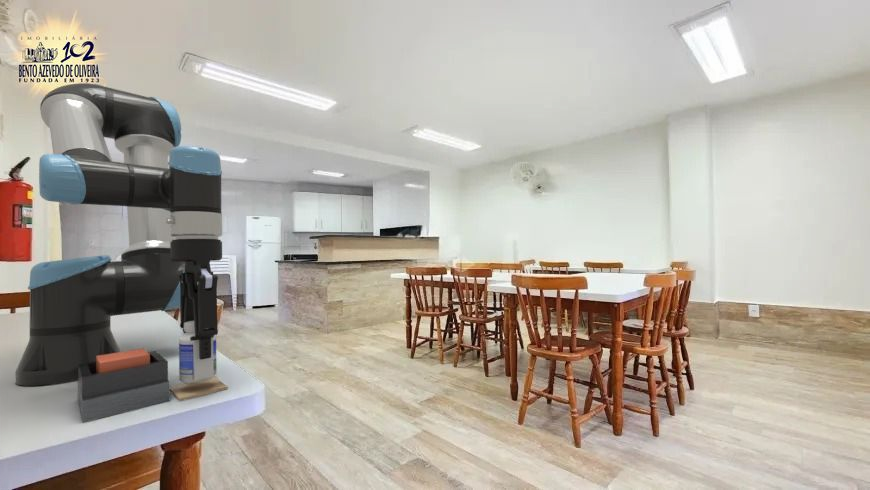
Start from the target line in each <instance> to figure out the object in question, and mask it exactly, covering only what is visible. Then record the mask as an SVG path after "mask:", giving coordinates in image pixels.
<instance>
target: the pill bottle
mask: <svg viewBox="0 0 870 490" xmlns="http://www.w3.org/2000/svg"><path fill="white" fill-rule="evenodd" d="M207 329H208V328H207ZM184 331H185V332H186V333H184V334H185V335H184V334H183V335H182V336H180V338H179V339H178V360H179V361H178V362H179V363H178V364H179V367H178V373H179V375H178V376H179V379H178V380H179V381H180V383H183V384H189V383H197V382H202V381H206V380H209V379H211V378H216V375H217V373H218V372H217V366H218V365H217V335H214V337H213V367H214V376H212V377H207V378H203V379H199V380H194V365H193V341H191V340H190V337H193V336H195V326H194V321H189V322H185V323H184Z"/></svg>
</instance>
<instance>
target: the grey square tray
mask: <svg viewBox="0 0 870 490" xmlns="http://www.w3.org/2000/svg"><path fill="white" fill-rule="evenodd" d="M147 352H148V351H147ZM148 353H149V354H150V364H145V365H139V366H134V367H129V368H123V369H118V370H113V371H107V372H102V373H97V374H96V361H94V362H88V363H82V364H78V381H77V392H78V393H77V401H78V407H79V412H80V416H81V421H82V423H87V422H91V421H95V420H99V419H103V418H107V417H111V416H114V415H115V416H116V415H118V414H123V413H127V412H131V411H134V410H138V409H143V408H146V407H150V406H154V405H157V404H163V403H166V402H170V401H171V400H170V399H171V398H170V397H171V396H170V395H171V394H170V393H171V392H170V388H171V387H170V381H169V360H167V359H165V358H164V357H163V356H162V355H161V354H160V353H159V352H158V351H156V350H153V351H149V352H148Z"/></svg>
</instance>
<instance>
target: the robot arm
mask: <svg viewBox="0 0 870 490" xmlns="http://www.w3.org/2000/svg"><path fill="white" fill-rule="evenodd" d="M39 107H40V108H39V110H40V116H41V119H42V121H43V122H44V124H45V125H46V126H47V127H48V128H49V131H50V139H51V147H52V153H46V154H42V155H41V156H40V157H39V163H38V169H39V170H38V183H39V184H38V185H39V187H38V188H39V196H40V197H41V198H42V199H43V200H45V201H48V202H55V203H64V204H70V205H92V206H93V205H94V206H112V207H126V211H127V212H126V213H127V216H126V217H127V226H128V227H127V228H128V242H129V243H128V248H126V249H125V250H124V251H122V252H121V254H120V257H121V258H120V259H121V260H119V261H118V260H117V261H116V260H115V261H112V258H111V257H110V255H109V254H104V255H103V254H101V255H95V256H84V257H75V258H68V259H67V258H66V259H61V260H60V259H58V260H50V261H43V262H39V263H37V264H35V265H34V266H32V267H31V269H30V273H29V284H28V286H27V290H29V339H28V342H27V345H26V347H25V349H24V352H23V354H22V357H21V359H20V361H19V363H18V366H17V368H16V370H15V384H16V385H19V386H26V387H27V386H28V387H29V386H32V387H33V386H46V385H47V386H48V385H54V384H60V383H62V384H63V383H67V382H73V381H77V380H78V364H82V363H88V362H94V361H96V356H99V355H105V354H111V353H118V352H121V350H120V348H119V345H118V344H117V341H116V339H115V337H114V335H113V334H114V333H112V330H111V317H113V316H124V315H132V314H139V313H140V314H141V313H149V312H151V313H152V312H159V311H161V312H165V311H167V310H174V309H180V313H179V314H180V316H179V317H180V320H179V321H180V323H179V327H180V329H182V333H183V335H185V334H186V332H185V331H184V323H185V322H189V321H194V326H195V336H193V337H190V340H191V341H193V365H194V380H199V379H203V378H207V377H212V376H214V367H213V337H214V335H216V336H217V335H218V332H219V330H218V329H219V327H218V296H217V293H218V292H217V289H218V288H217V287H218V280H219V277H218V274H214V272H213V271H212V269H211V264H210V263H211V262H214V261H215V262H217V261H221V260H222V259H223V241H222V240H221V239H219V238H220V237H222V236H223V214H222V175H223V171H222V164H221V157H220V155H219V153H218V152H216V151H215V150H212V149H209V148H206V147H200V146H194V145H180V144H181V140H182V133H181V131H182V124H181V118H180V115H179V113H178V110H177V108H176V107H175V106H174V105H173V104H171V102H168V101H165V100H161V99H158V98H157V97H153V96H145V95H144V96H143V95H140V94H137V93H134V92H133V93H132V92H129V91H125V90H121V89H116V88H112V87H108V86H104V85H101V84H96V83H86V82H83V83H81V82H79V83H72V84H71V83H69V84H66V85H62V86H59V87H56V88H54V89H53V90H52V89H51V90H50V91H49V92H48V93H47V94H45V96H44V97H43V98H42V100H41V102H40V106H39ZM105 139H112V140H114V147H115V149H117V150H118V151H119V152H121V153H122V154H123V162H119V161H113V160H112V157H111V154H110V151H109V148H108V145H107V141H106V140H105ZM168 157H169V159H168ZM207 328H208V329H207Z"/></svg>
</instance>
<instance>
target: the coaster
mask: <svg viewBox="0 0 870 490" xmlns="http://www.w3.org/2000/svg"><path fill="white" fill-rule="evenodd" d="M227 388H228V389H229V386H228V385H227V384H225V383H224V382H223V381H221V380H220V379H219V378H217V377H213V378H211V379H209V380H206V381H202V382H197V383H184V384H181V385H177V386H173V387H170V393H171V394H172V395H173V396H174V397H175V398H176V399H177V400H178V402H182V401H185V400H189V399H193V398H198V397H202V396H205V395H209V394H212V393H216V392H217V393H218V392H221V391H225V390H228V389H227ZM224 389H225V390H224ZM220 390H221V391H220Z"/></svg>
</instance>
